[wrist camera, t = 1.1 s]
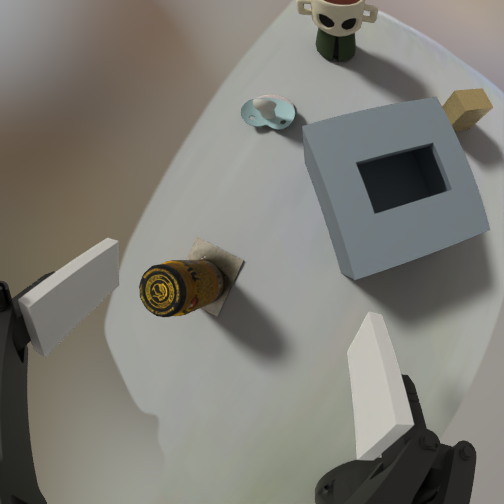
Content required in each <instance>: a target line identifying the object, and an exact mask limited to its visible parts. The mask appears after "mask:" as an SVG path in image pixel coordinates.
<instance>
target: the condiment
mask: <svg viewBox="0 0 504 504" xmlns="http://www.w3.org/2000/svg"><path fill="white" fill-rule="evenodd" d="M204 256H206V257H205V258H203V257H204ZM201 258H203V259H201ZM242 263H243V260H242V259H240V258H238V257H236V256H234V255H232V254H230V253H228V252H226V251H224V250H222V249H220V248H218V247H216V246H214V245H212V244H210V243H208V242H206V241H204V240H202V239H200V238H198V237H196V240H195V242H194V244H193V246H192V248H191V251H190V253H189V255H188V257H187V260H172V261H167V262H165V263H162V264H160V265H154V266H152V267H151V268H149V269H148V270H147V271H146V272H145V273H144V275H143V276H142V279H141V282H140V286H139V288H140V298H141V300H142V302H143V304H144V306H145V307H146V308H147V309H148V310H149V311H150V312H151V313H153V314H154V315H156V316H160V317H170V316H181V315H186V314H188V313H190V312H192V311H195V310H197V309H199V308H202V309H204V310H206V311H207V312H209V313H211V314H213V315H214V316H216V317H217V316H218V314H219V312H220V310H221V308H222V306H223V304H224V302H225V300H226V297H227V295H228V293H229V291H230V289H231V286H232V284H233V282H234V280H235V278H236V276H237V274H238V271H239V269H240V267H241V265H242ZM225 277H226V278H225Z"/></svg>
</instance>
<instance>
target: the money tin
mask: <svg viewBox="0 0 504 504" xmlns="http://www.w3.org/2000/svg"><path fill="white" fill-rule="evenodd" d="M302 133H303V144H304V157H305V164H306V167H307V169H308V172H309V175H310V178H311V180H312V183H313V186H314V189H315V192H316V194H317V197H318V200H319V203H320V206H321V209H322V212H323V215H324V218H325V221H326V224H327V227H328V230H329V234H330V237H331V240H332V243H333V246H334V250H335V253H336V256H337V260H338V263H339V267H340V270H341V273H342V274H344V275H346V276H348V277H350V278H352V279H354V280H357V279H360V278H363V277H366V276H369V275H372V274H375V273H378V272H381V271H384V270H387V269H389V268H392V267H395V266H398V265H401V264H404V263H406V262H409V261H412V260H415V259H417V258H420V257H423V256H426V255H428V254H431V253H434V252H436V251H439V250H441V249H444V248H447V247H449V246H452V245H454V244H457V243H459V242H462V241H464V240H467V239H469V238H471V237H474V236H476V235H479V234H481V233H483V232H486V231H488V230H490V227H489V223H488V220H487V216H486V213H485V209H484V206H483V203H482V199H481V196H480V193H479V190H478V187H477V184H476V182H475V179H474V176H473V173H472V171H471V168H470V166H469V163H468V161H467V158H466V156H465V153H464V151H463V149H462V146H461V144H460V142H459V140H458V138H457V135H456V133H455V131H454V129H453V127H452V125H451V123H450V121H449V119H448V117H447V115H446V113H445V111H444V110H443V108H442V106H441V104H440V102H439V100H438V99H437V97H432V98H425V99H419V100H413V101H407V102H401V103H396V104H391V105H386V106H381V107H376V108H371V109H367V110H362V111H358V112H354V113H349V114H345V115H341V116H337V117H334V118H330V119H326V120H322V121H319V122H315V123H312V124H308V125H305V126H302Z"/></svg>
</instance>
